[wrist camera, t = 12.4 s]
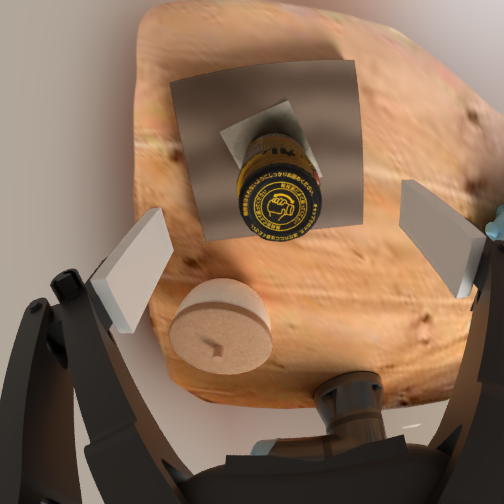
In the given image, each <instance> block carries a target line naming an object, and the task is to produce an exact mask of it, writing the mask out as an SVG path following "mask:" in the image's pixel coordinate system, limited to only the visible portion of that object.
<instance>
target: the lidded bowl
mask: <svg viewBox="0 0 504 504" xmlns="http://www.w3.org/2000/svg"><path fill="white" fill-rule="evenodd" d="M169 340H170V343H171V346H172V347H173V349H174V351H175V352H176V353H177V355H178V356H179V357H180V358H182V359H183V360H184V361H185V362H187V363H188V364H190V365H192V366H194V367H196V368H198V369H200V370H203V371H207V372H210V373H216V374H226V375H228V374H240V373H245V372H248V371H251V370H253V369H255V368H257V367H259V366H260V365H262V364H263V363H264V362H265V361H266V360H267V359H268V357H269V356H270V353H271V351H272V336H271V326H270V319H269V314H268V312H267V309H266V306H265V304H264V302H263V301H262V299H261V297H260V296H259V295H258V294H257V293H256V292H255V291H254V290H253V289H252V288H251V287H249V286H248V285H246V284H245V283H242V282H240V281H237V280H234V279H230V278H217V279H211V280H208V281H205V282H203V283H201V284H199V285H197V286H196V287H195V288H193V289H192V290H191V291H190V292H189V293H188V294H187V295H186V297H185V298H184V299H183V301H182V303H181V304H180V306H179V308H178V310H177V313H176V315H175V318H174V319H173V322H172V324H171V326H170V330H169Z"/></svg>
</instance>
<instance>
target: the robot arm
mask: <svg viewBox="0 0 504 504" xmlns="http://www.w3.org/2000/svg"><path fill="white" fill-rule="evenodd" d="M399 226H400V227H401V229H402V230H403V231H404V232H405V233H406V234H407V236H408V237H409V238H410V239H411V240H412V242H413V243H414V244H415V245H416V246H417V248H418V249H419V250H420V251H421V253H422V254H423V255H424V256H425V258H426V259H427V260H428V261H429V263H430V264H431V265H432V267H433V268H434V269H435V271H436V272H437V273H438V274H439V276H440V277H441V279H442V280H443V281H444V283H445V284H446V285H447V287H448V288H449V290H450V291H451V292H452V294H453V295H454V297H455V298H456V299H458V298H462V297H466V296H469V295H470V293H471V290H472V287H473V284H475V286H476V287H477V288H478V291H477V294H476V296H475V299H474V302H473V304H472V307H471V309H470V311H473V314H472V319H471V325H470V329H469V334H468V339H467V343H466V347H465V351H464V355H463V359H462V362H461V366H460V369H459V373H458V376H457V379H456V382H455V385H454V388H453V391H452V394H451V397H450V400H449V403H448V405H447V408H446V411H445V413H444V416H443V418H442V421H441V423H440V426H439V428H438V430H437V432H436V434H435V436H434V437H433V439H432V440H431V442H430V443H429V445H428V446H425V445H420V444H408V443H407V444H406V442H405V438H404V435H399V436H396V437H392V438H388V439H387V436H386V432H385V427H384V423H383V419H382V414H381V410H382V400H383V384H382V381H381V378H380V377H379V376H378V375H376V374H374V373H370V372H354V373H348V374H344V375H341V376H338V377H335V378H333V379H331V380H329V381H327V382H325V383H324V384H322V385H321V386H320V387H319V388H318V389H317V390H316V392H315V394H314V401H315V407H316V409H317V410H318V413H319V414H320V417H321V419H322V420H323V422H324V424H325V426H326V434H327V435H324V436H314V437H302V438H284V439H281V438H277V439H272V440H261V441H258V442H257V443H256V444H255V445H254V447H253V449H252V451H251V453H250V455H248V456H247V455H244V456H241V455H239V456H237V455H226V462H225V464H224V465H220V466H216V467H213V468H209V469H207V470H205V471H202V472H200V473H198V474H196V475H193V474H192V473H191V471H190V470H189V469H188V468H187V467H186V466H185V465H184V464H183V462H182V461H181V460H180V459H179V457H178V456H177V455H176V453H175V451H174V450H173V448H172V447H171V446H170V444H169V442H168V441H167V439H166V437H165V436H164V435H163V433H162V431H161V430H160V428H159V426H158V424H157V423H156V421H155V419H154V418H153V416H152V414H151V412H150V411H149V409H148V407H147V405H146V404H145V402H144V400H143V398H142V396H141V394H140V393H139V390H138V389H137V387H136V385H135V383H134V381H133V379H132V377H131V375H130V373H129V371H128V368H127V367H126V364H125V362H124V360H123V358H122V356H121V353H120V351H119V349H118V347H117V344H116V342H115V340H114V337H113V335H112V334H111V332H110V330H109V329H110V327H111V325H112V323H113V325H114V326H115V328H116V330H117V331H118V333H134V331H135V329H136V327H137V325H138V323H139V320H140V318H141V316H142V314H143V312H144V309H145V307H146V305H147V303H148V301H149V299H150V297H151V295H152V293H153V291H154V289H155V287H156V285H157V283H158V281H159V279H160V277H161V275H162V273H163V271H164V269H165V267H166V265H167V263H168V261H169V259H170V257H171V255H172V253H173V251H174V250H173V246H172V243H171V240H170V237H169V233H168V230H167V227H166V223H165V220H164V217H163V213H162V210H161V207H158V208H153V209H148V210H147V211H146V213H145V214H144V215H143V216H142V217H141V218H140V219H139V220H138V222H137V223H136V224H135V225H134V226H133V227H132V228H131V230H130V231H129V232H128V233H127V234H126V235H125V237H124V238H123V239H122V240H121V242H120V243H119V244H118V245H117V246H116V248H115V249H114V250H113V251H112V252H111V254H110V255H109V256H108V257H107V258H105V259H104V260H103V261H102V262H101V264H100V265H99V266H98V268H97V269H96V270H95V271H94V273H93V274H92V275H91V276H90V278H89V279H88V280H87V282H86V283H85V284H84V283H83V281H82V279H81V277H80V275H79V273H78V271H77V270H76V269H68V270H66V271H63V272H62V273H60V274H58V275H57V276H56V277H55V278H54V279H53V280H52V282H51V284H50V286H51V288H52V290H53V292H54V293H55V295H56V296H57V299H58V300H59V302H60V304H57V305H54V306H50V304H49V302H48V301H47V299H46V298H39V299H37V300H34V301H32V302H31V303H30V304H29V306H28V307H27V308H26V310H25V312H24V315H23V318H22V320H21V323H20V327H19V329H18V332H17V335H16V339H15V342H14V345H13V349H12V352H11V356H10V359H9V363H8V367H7V371H6V375H5V380H4V384H3V389H2V394H1V399H0V504H82V498H81V490H80V483H79V476H78V469H77V459H76V450H75V435H74V409H73V408H74V402H73V401H74V397H73V395H74V393H73V392H74V390H73V389H74V388H75V393H76V397H77V400H78V404H79V407H80V410H81V414H82V417H83V420H84V423H85V427H86V430H87V433H88V436H89V439H90V444H89V445H87V446H85V448H84V453H85V458H86V460H87V463H88V465H89V468H90V471H91V473H92V476H93V478H94V481H95V483H96V486H97V488H98V490H99V492H100V494H101V496H102V499H103V501H104V503H105V504H504V241H503V240H494V241H493V240H492V239H491V238H489V237H488V236H487V235H486V234H485V233H484V232H483V231H482V230H479V228H478V227H477V226H476V225H474V224H473V223H472V222H471V221H470V220H469V219H467V218H465V217H463V216H462V215H461V214H459V213H458V212H457V211H456V210H454V209H453V208H452V207H450V206H449V205H448V204H447V203H445V202H444V201H443V200H441V199H440V198H439V197H437V196H436V195H435V194H433V193H432V192H431V191H429V190H428V189H426V188H425V187H424V186H422V185H421V184H419V183H418V182H416V181H415V180H402V188H401V207H400V220H399Z"/></svg>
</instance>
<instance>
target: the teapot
mask: <svg viewBox="0 0 504 504" xmlns="http://www.w3.org/2000/svg"><path fill="white" fill-rule="evenodd" d="M485 232H486V235H487V236H488V237H489V238H491V239H492V240H493V241H494V240H503V241H504V204H502V205H500V206H499V207H498V208H497V211H496V219H495V220H494V221H493V222H489V223H488V224H487V225H486V227H485Z"/></svg>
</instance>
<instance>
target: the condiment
mask: <svg viewBox="0 0 504 504" xmlns="http://www.w3.org/2000/svg"><path fill="white" fill-rule="evenodd" d="M220 134H221V136H222V138H223V140H224V141H225V143H226V145H227V147H228V149H229V151H230V152H231V154H232V156H233V158H234V160H235V161H236V163H237V165H238V167H239V169H240V172H239V175H238V179H237V182H236V183H237V189H236V190H237V197H238V201H239V202H238V203H239V207H238V208H239V210H240V215H241V216H242V218H243V220H244V222H245V223H246V225H247V226H248V228H249V229H250V230H251V231H252V232H254V233H256V234H257V235H259V236H260V237H261V238H263V239H265V240H269V241H278V242H284V241H289V240H292V239H295V238H298V237H301V236H303V235H304V234H306V233H307V232H308V231H309V230H310V229H311V228H312V227H313V226H314V224H315V223H316V221H317V219H318V217H319V216H320V214H321V209H322V195H321V185H320V180H319V178H320V177H323V176H322V174H321V172H320V169H319V167H318V164H317V162H316V160H315V158H314V155H313V153H312V151H311V148H310V146H309V144H308V141H307V139H306V137H305V135H304V132H303V130H302V128H301V126H300V124H299V122H298V120H297V117H296V115H295V113H294V111H293V109H292V107H291V105H290V103H289V101H285V102H283V103H281V104H278V105H276V106H274V107H271V108H269V109H267V110H264V111H262V112H260V113H258V114H256V115H253V116H251V117H249V118H247V119H245V120H243V121H241V122H239V123H237V124H234V125H232V126H231V127H228V128H226V129H224V130H223V131H221V132H220ZM248 144H249V145H248Z"/></svg>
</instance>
